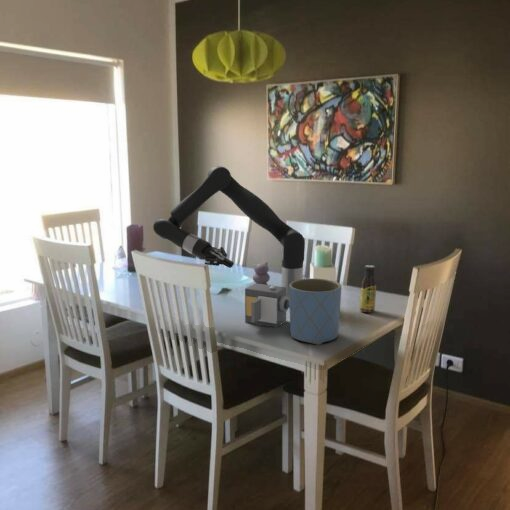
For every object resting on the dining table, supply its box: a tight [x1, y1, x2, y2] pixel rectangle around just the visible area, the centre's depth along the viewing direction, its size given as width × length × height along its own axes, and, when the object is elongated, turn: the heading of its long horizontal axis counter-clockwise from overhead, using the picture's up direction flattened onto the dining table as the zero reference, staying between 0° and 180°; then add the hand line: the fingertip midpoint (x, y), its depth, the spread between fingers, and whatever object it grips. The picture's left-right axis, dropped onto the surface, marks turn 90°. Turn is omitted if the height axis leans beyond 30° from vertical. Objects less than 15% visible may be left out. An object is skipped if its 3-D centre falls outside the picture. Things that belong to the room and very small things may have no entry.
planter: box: [289, 278, 342, 346], centre depth 205 cm, size 19×19×20 cm
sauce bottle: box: [359, 264, 377, 313], centre depth 234 cm, size 7×6×20 cm
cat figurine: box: [252, 261, 270, 285], centre depth 274 cm, size 8×8×12 cm
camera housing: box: [244, 282, 290, 328], centre depth 222 cm, size 16×9×15 cm, turn 62°
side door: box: [251, 296, 277, 324], centre depth 214 cm, size 8×6×10 cm
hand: (232, 265), depth 220 cm, fingers closed
